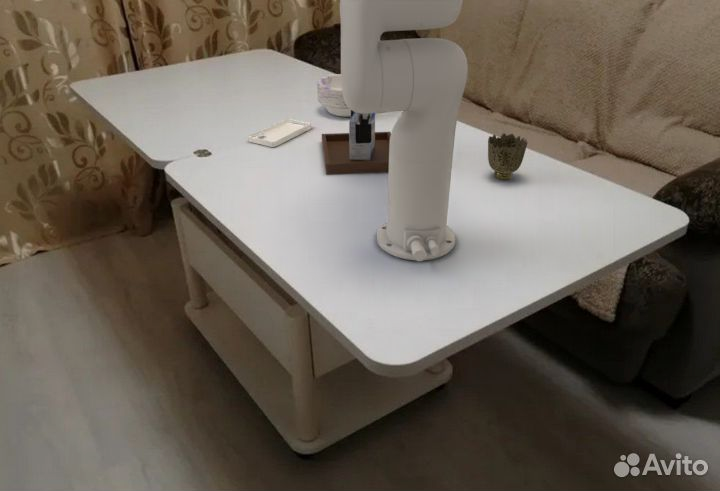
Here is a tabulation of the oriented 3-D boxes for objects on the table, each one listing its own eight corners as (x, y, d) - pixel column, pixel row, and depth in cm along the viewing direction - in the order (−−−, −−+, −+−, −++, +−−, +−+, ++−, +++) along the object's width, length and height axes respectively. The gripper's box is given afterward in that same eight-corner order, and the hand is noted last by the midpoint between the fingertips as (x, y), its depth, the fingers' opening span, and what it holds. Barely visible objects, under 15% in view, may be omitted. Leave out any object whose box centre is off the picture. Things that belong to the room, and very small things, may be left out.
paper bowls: (385, 116, 150) (386, 85, 146) (329, 124, 146) (328, 91, 142) (363, 100, 163) (363, 70, 159) (310, 106, 158) (309, 76, 154)
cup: (493, 187, 114) (499, 148, 110) (477, 172, 120) (481, 134, 116) (528, 183, 116) (534, 144, 112) (510, 168, 122) (515, 131, 118)
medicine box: (370, 161, 124) (370, 121, 119) (349, 160, 124) (348, 120, 120) (375, 147, 130) (375, 109, 126) (354, 146, 131) (354, 108, 126)
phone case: (273, 147, 132) (312, 128, 143) (273, 142, 131) (312, 122, 142) (248, 141, 135) (287, 123, 146) (247, 136, 134) (287, 117, 145)
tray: (403, 171, 121) (403, 161, 120) (326, 174, 119) (326, 164, 118) (389, 140, 136) (390, 131, 135) (321, 143, 134) (321, 133, 133)
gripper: (386, 60, 109) (384, 148, 118) (374, 41, 124) (373, 121, 133) (345, 61, 108) (346, 150, 117) (338, 42, 123) (339, 122, 132)
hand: (360, 134), depth 125 cm, fingers open, 9 cm apart
